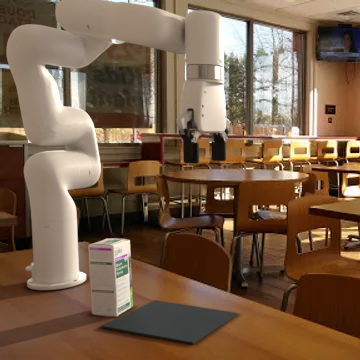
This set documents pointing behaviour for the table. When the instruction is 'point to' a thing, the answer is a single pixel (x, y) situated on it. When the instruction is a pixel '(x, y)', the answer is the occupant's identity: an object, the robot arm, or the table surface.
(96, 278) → the syrup box
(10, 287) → the table surface
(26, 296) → the table surface
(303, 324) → the table surface
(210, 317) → the mat
